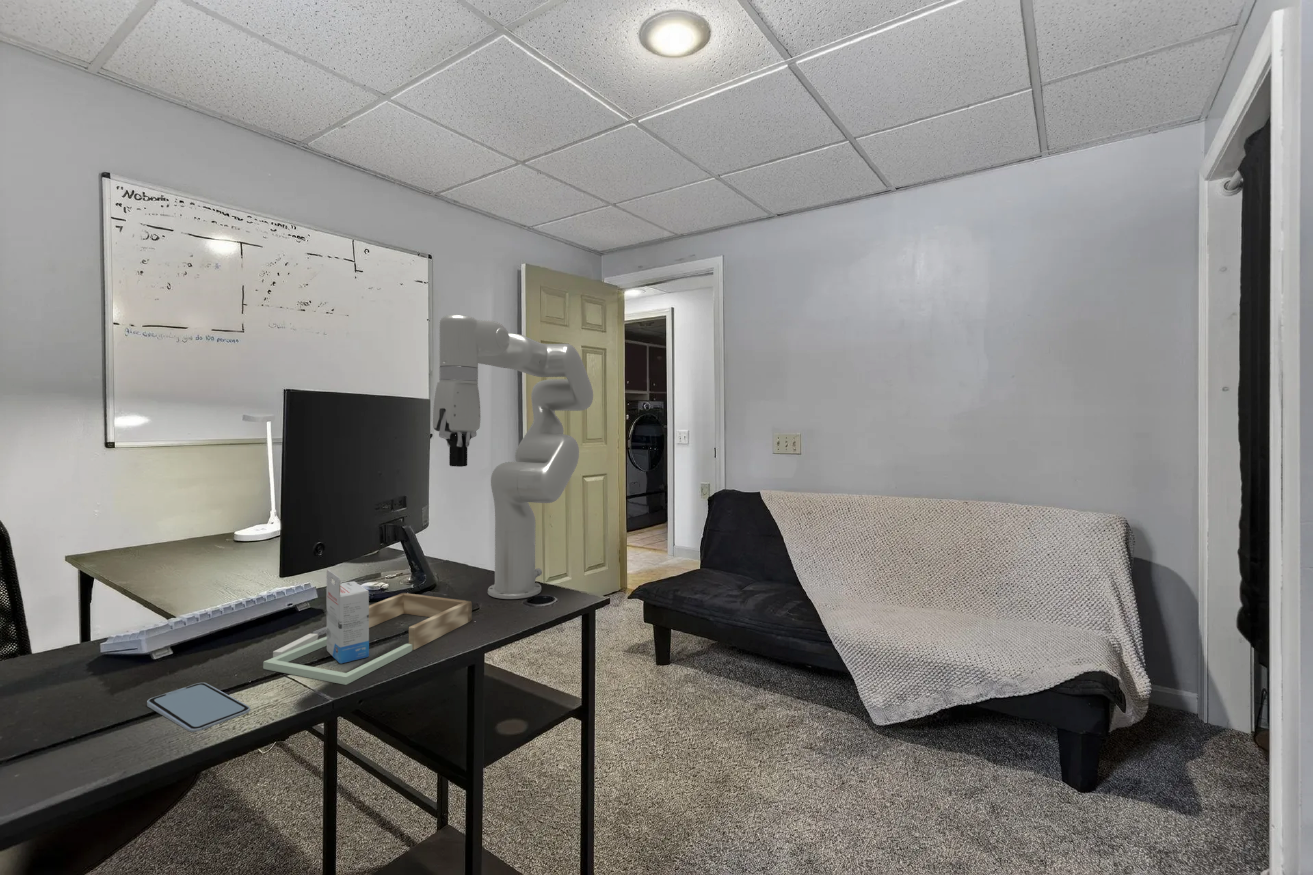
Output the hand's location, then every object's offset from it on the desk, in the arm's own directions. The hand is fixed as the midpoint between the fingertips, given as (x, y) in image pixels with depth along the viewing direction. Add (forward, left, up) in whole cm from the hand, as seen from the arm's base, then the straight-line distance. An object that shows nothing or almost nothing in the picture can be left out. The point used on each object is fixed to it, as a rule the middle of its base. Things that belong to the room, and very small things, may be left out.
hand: (458, 465), depth 123 cm
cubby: (+8, -6, -32) cm, 34 cm away
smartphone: (+44, -11, -33) cm, 56 cm away
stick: (+23, -17, -32) cm, 43 cm away
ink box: (+21, -7, -32) cm, 39 cm away
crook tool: (+11, -17, -32) cm, 38 cm away
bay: (+23, -6, -32) cm, 40 cm away
